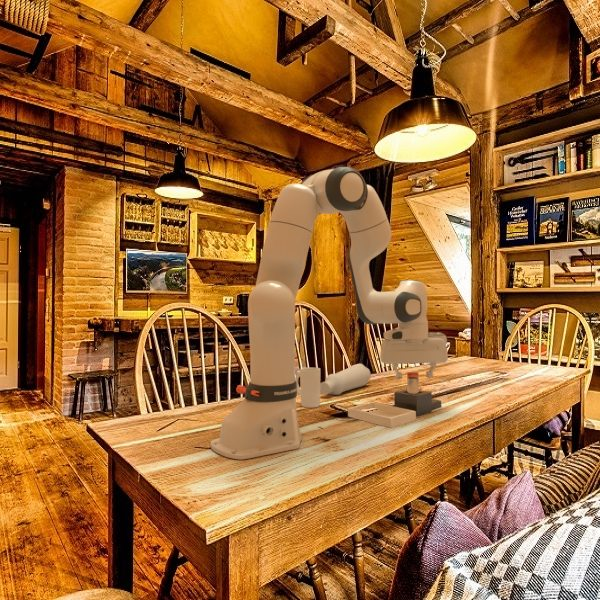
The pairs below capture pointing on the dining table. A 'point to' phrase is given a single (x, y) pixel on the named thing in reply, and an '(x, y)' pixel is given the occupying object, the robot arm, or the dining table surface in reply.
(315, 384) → the mug
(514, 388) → the dining table surface
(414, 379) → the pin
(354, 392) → the dining table surface
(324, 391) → the bottle
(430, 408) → the block
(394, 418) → the tray
